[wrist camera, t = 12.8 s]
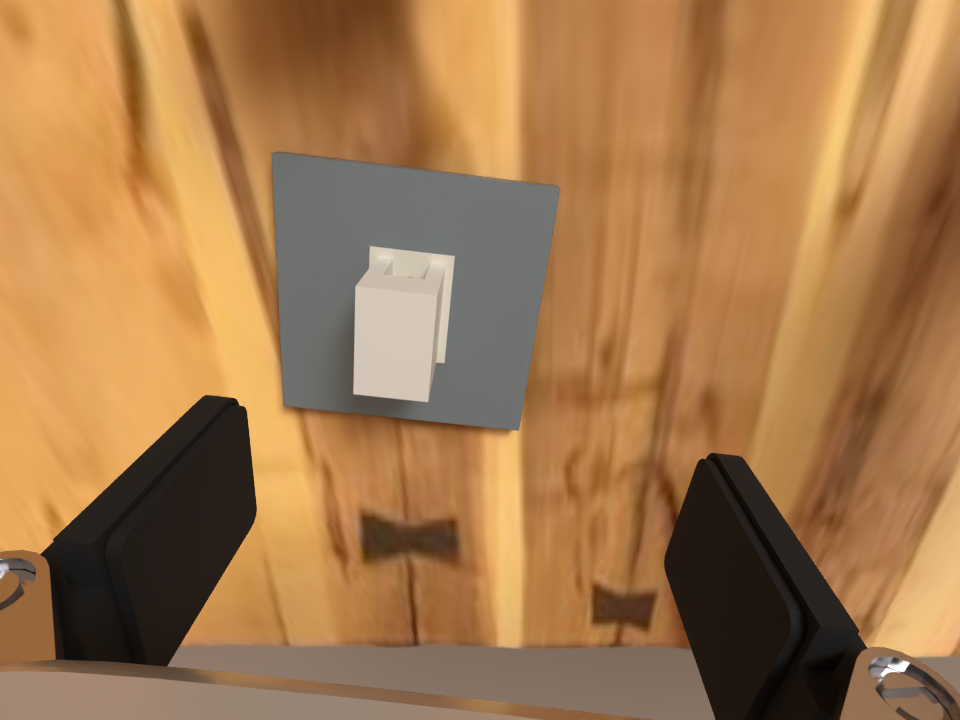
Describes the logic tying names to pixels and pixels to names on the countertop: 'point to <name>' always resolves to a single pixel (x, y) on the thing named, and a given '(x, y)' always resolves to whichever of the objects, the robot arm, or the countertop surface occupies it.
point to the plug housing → (397, 332)
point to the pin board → (414, 245)
